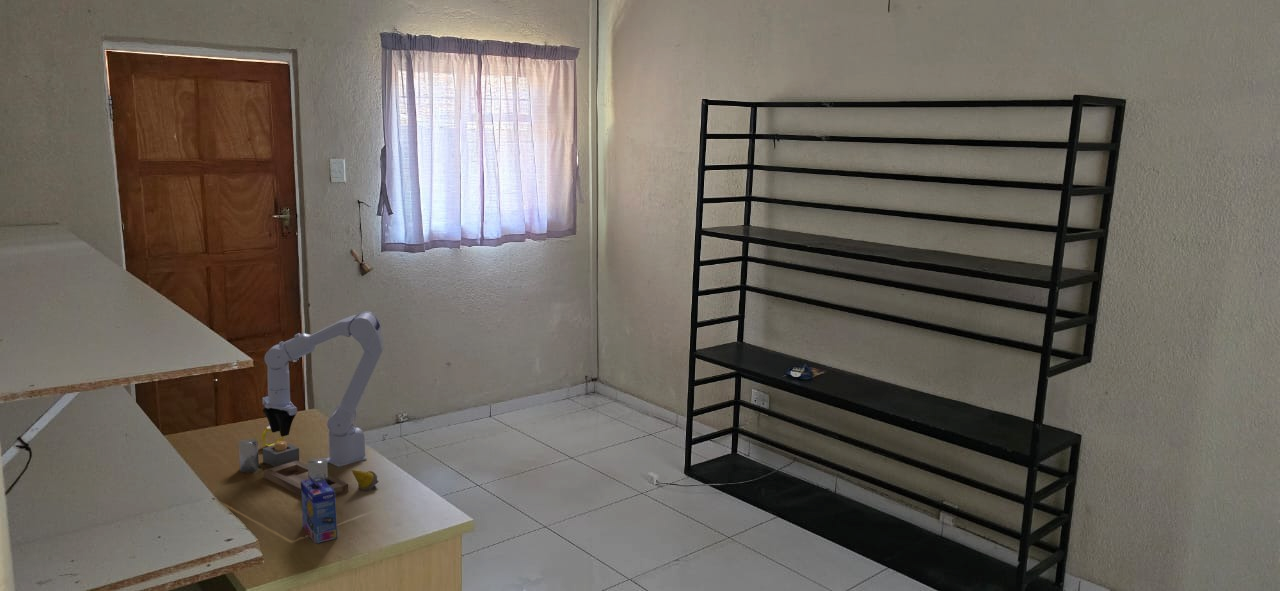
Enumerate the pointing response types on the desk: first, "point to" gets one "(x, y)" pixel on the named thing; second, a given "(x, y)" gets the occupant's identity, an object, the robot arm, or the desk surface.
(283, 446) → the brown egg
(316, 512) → the ink cartridge box
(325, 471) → the cylinder
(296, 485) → the frame
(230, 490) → the desk surface
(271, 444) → the watch
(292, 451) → the button housing
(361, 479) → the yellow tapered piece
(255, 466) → the steel billet
